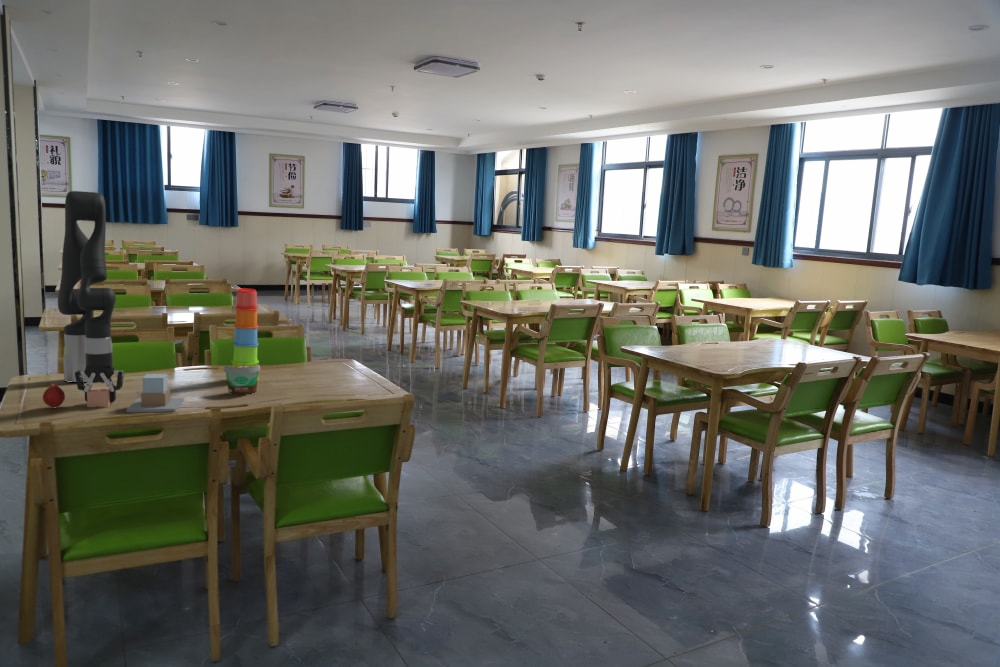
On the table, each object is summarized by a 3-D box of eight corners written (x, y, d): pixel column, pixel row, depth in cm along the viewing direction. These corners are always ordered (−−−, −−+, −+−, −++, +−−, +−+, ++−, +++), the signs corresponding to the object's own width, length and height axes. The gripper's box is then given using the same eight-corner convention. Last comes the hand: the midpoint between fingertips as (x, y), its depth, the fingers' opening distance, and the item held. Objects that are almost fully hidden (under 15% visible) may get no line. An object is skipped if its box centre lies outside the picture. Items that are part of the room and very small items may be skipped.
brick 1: (87, 407, 231) (86, 391, 230) (93, 402, 237) (92, 387, 236) (108, 406, 232) (107, 391, 232) (113, 402, 238) (113, 387, 237)
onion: (49, 405, 230) (48, 381, 229) (68, 406, 231) (67, 381, 230) (39, 410, 225) (38, 385, 224) (59, 411, 225) (58, 385, 224)
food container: (226, 397, 251) (225, 368, 249) (223, 393, 256) (223, 365, 255) (263, 394, 257) (263, 366, 255) (260, 390, 262) (260, 363, 261)
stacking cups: (258, 376, 284) (258, 287, 278) (259, 382, 274) (258, 290, 269) (230, 377, 280) (229, 287, 275) (229, 383, 271) (228, 290, 266)
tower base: (126, 412, 227) (126, 396, 226) (137, 401, 241) (137, 386, 240) (175, 411, 230) (174, 396, 230) (183, 400, 244) (183, 386, 243)
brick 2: (143, 393, 231) (142, 378, 230) (147, 389, 237) (146, 373, 236) (163, 393, 233) (163, 377, 232) (167, 388, 238) (167, 373, 238)
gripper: (69, 353, 227) (71, 405, 229) (120, 353, 230) (122, 405, 232) (77, 348, 234) (79, 399, 236) (126, 348, 237) (128, 399, 240)
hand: (100, 402), depth 234 cm, fingers closed on brick 1, 6 cm apart
